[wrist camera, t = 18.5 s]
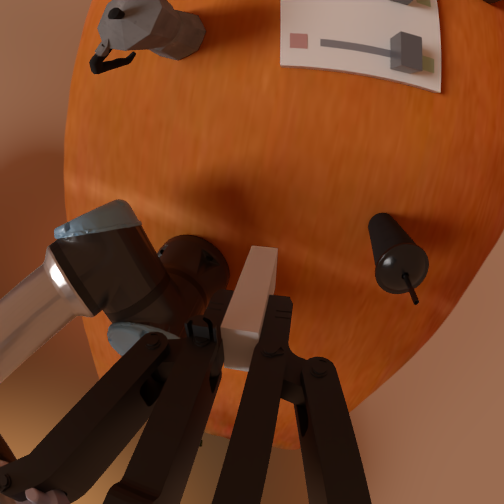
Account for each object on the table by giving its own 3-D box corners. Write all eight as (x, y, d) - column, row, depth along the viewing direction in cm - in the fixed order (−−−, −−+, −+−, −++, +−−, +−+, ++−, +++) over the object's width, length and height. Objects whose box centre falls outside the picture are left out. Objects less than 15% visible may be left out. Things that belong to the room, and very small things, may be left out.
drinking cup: (384, 195, 41) (428, 260, 24) (409, 226, 42) (454, 300, 26) (351, 225, 45) (371, 303, 28) (377, 253, 46) (404, 336, 29)
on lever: (390, 69, 29) (401, 65, 24) (390, 38, 26) (400, 31, 22) (409, 73, 28) (422, 71, 24) (409, 43, 26) (421, 37, 21)
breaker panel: (281, 67, 34) (280, 65, 32) (281, -37, 24) (279, -43, 22) (434, 92, 30) (440, 92, 28) (429, -11, 20) (434, -15, 18)
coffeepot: (188, -5, 29) (128, -42, 14) (227, 22, 31) (178, -17, 16) (130, 61, 36) (55, 58, 21) (163, 90, 38) (90, 93, 23)
